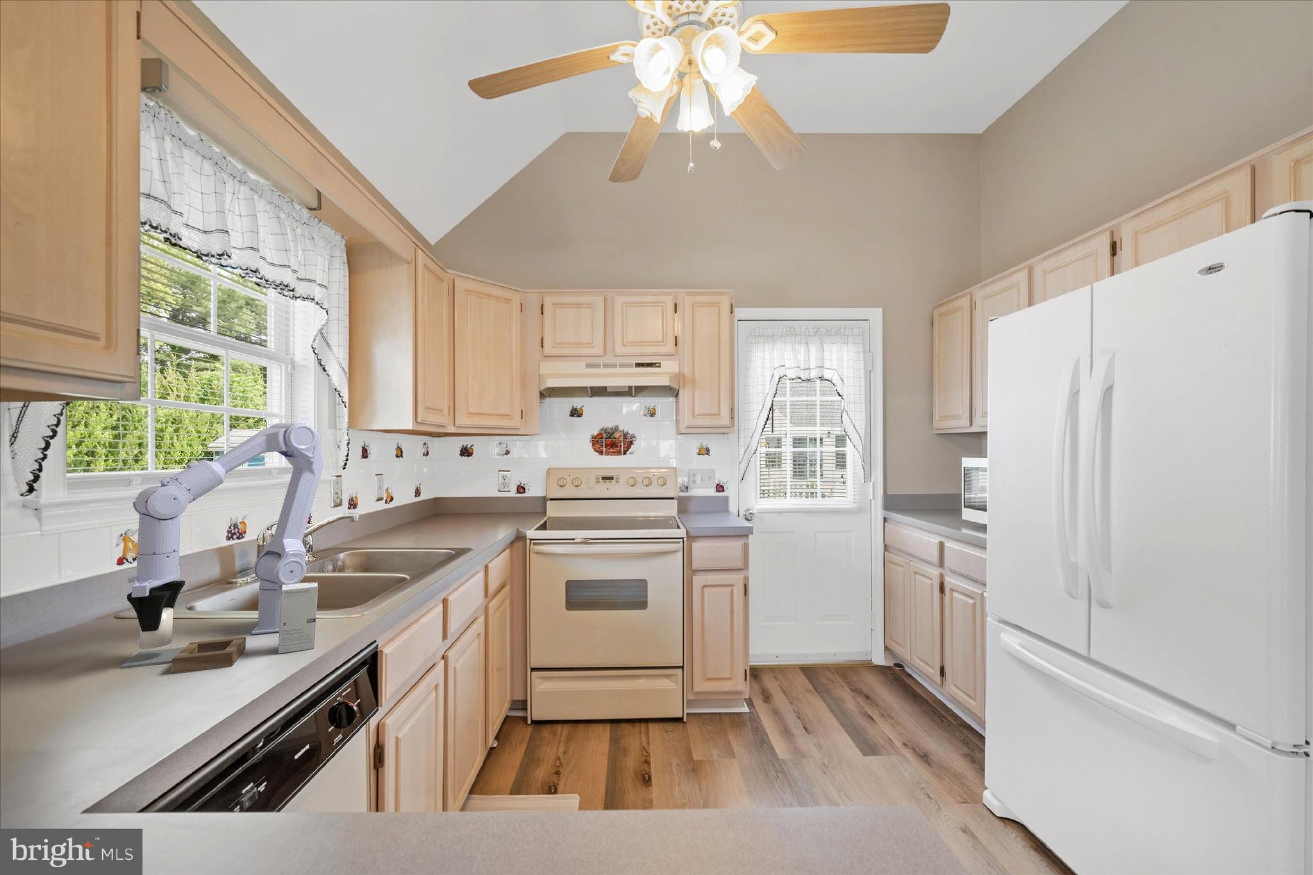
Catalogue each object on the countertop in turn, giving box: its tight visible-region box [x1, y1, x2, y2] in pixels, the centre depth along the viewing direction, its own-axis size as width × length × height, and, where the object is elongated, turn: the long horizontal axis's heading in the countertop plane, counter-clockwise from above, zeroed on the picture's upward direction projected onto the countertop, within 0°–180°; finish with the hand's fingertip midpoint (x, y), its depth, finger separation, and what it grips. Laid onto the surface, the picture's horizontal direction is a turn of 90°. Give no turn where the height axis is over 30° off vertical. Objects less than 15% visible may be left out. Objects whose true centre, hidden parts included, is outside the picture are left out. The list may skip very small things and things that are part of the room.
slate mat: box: [120, 646, 186, 669], centre depth 99 cm, size 7×7×1 cm
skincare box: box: [277, 581, 319, 654], centre depth 105 cm, size 6×4×12 cm
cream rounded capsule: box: [138, 608, 174, 650], centre depth 99 cm, size 4×4×6 cm
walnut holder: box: [171, 636, 247, 675], centre depth 98 cm, size 8×8×2 cm
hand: (156, 626), depth 99 cm, fingers closed on cream rounded capsule, 4 cm apart
